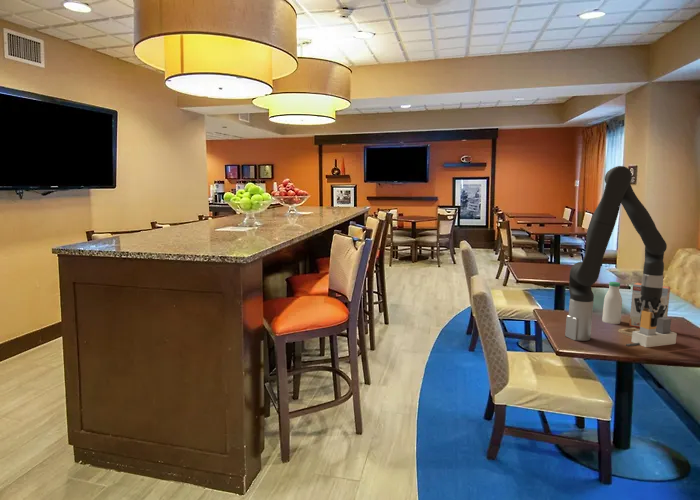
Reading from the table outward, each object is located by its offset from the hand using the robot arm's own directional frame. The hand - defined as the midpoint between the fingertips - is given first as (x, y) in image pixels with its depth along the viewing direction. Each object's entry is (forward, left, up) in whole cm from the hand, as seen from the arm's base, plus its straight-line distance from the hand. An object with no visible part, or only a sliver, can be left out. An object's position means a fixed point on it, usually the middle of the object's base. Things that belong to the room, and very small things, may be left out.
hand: (648, 324), depth 196 cm
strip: (+1, 0, -9) cm, 9 cm away
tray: (+6, +11, -9) cm, 15 cm away
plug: (0, 0, -4) cm, 4 cm away
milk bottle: (+11, +29, -9) cm, 32 cm away
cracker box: (+20, +17, -9) cm, 28 cm away
